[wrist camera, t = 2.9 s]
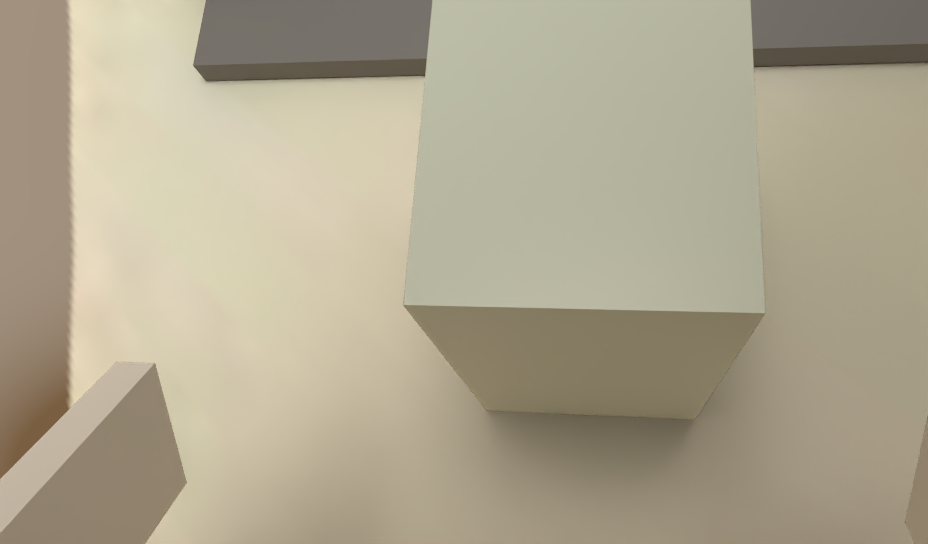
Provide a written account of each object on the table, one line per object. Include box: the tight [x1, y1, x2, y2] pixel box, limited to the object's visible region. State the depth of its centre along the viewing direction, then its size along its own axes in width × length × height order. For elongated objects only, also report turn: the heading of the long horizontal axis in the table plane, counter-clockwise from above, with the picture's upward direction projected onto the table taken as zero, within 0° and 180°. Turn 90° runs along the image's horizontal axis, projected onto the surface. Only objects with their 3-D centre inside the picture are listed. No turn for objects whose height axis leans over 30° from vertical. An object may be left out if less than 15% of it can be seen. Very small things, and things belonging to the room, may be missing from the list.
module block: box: [403, 0, 765, 420], centre depth 20 cm, size 6×7×11 cm
